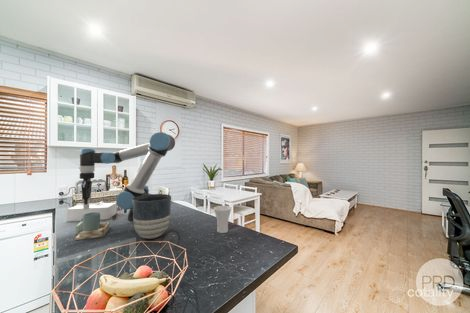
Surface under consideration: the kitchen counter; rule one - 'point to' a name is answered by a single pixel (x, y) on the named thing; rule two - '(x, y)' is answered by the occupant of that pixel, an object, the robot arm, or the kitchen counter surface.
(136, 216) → the planter
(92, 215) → the cup
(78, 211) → the tissue box
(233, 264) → the kitchen counter surface
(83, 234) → the tray
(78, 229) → the gate
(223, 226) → the cup
